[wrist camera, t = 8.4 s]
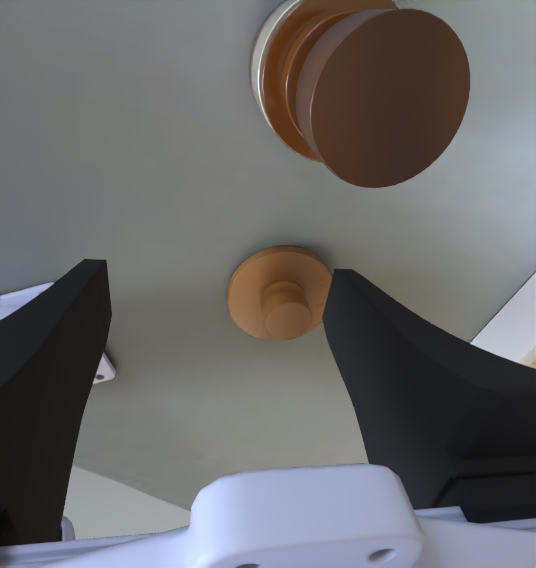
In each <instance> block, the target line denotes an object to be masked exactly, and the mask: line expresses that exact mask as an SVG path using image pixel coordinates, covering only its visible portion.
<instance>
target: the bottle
mask: <svg viewBox="0 0 536 568" xmlns="http://www.w3.org/2000/svg"><path fill="white" fill-rule="evenodd" d="M370 9H399V8H398V7H397V6H396V5H395V4H394V3H393V2H392V1H391V0H285V1H283V2H282V3H281V4H279V5H278V6H277V7H276V8H275V9H274V10H273V11H272V12H271V13H270V14H269V15H268V17H267V18H266V19H265V20H264V22H263V24H262V25H261V27H260V29H259V31H258V33H257V35H256V37H255V40H254V43H253V46H252V50H251V56H250V65H249V73H250V83H251V88H252V92H253V95H254V98H255V100H256V102H257V105H258V106H259V109H260V110H261V112H262V114H263V116H264V117H265V119H266V120H267V122H268V124H269V125H270V127H271V128H272V129H273V131H274V132H275V133H276V135H277V136H278V137H279V138H280V139H281V141H282V142H283V143H284V144H285V145H286V146H287V147H288V148H290V149H291V150H292V151H294V152H295V153H297V154H299V155H300V156H302V157H304V158H307V159H310V160H313V161H317V162H322V161H321V160H320V158H319V157H318V156H317V155H316V154H315V152H314V151H313V150H312V149H311V148H310V146H309V145H308V143H307V142H306V140H305V138H304V137H303V135H302V132H301V130H300V127H299V124H298V120H297V115H296V89H297V83H298V79H299V75H300V72H301V69H302V67H303V64H304V62H305V60H306V58H307V56H308V54H309V52H310V51H311V49H312V48H313V46H314V45H315V43H316V42H317V41H318V40H319V39H320V37H321V36H322V35H323V34H324V33H325V32H326V31H327V30H328V29H329V28H330V27H332V26H333V25H334V24H336V23H337V22H339V21H340V20H342V19H344V18H345V17H347V16H349V15H351V14H354V13H357V12H360V11H365V10H370Z"/></svg>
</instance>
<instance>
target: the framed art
mask: <svg viewBox="0 0 536 568" xmlns="http://www.w3.org/2000/svg"><path fill="white" fill-rule="evenodd" d="M470 344H472V345H474V346H477V347H479V348H481V349H483V350H486V351H488V352H491V353H493V354H496V355H498V356H501V357H503V358H506V359H509V360H512V361H514V362H517V363H520V364H523V365H526V366H529V367H532V368H535V369H536V272H535V274H534V275H533V276H532V277H531V278H530V279H529V280H528V281H527V282H526V283H525V284H524V285H523V287H522V288H521V289H520V290H519V291H518V292H517V293H516V294H515V295H514V296H513V297H512V298H511V299H510V301H509V302H508V303H507V304H506V305H505V306H504V307H503V308H502V309H501V310H500V311H499V312H498V313H497V315H496V316H495V317H494V318H493V319H492V320H491V321H490V322H489V323H488V324H487V325H486V326H485V328H484V329H483V330H482V331H481V332H480V333H479V334H478V335H477V336H476V337H475V338H474V339H473V340H472V342H471V343H470Z"/></svg>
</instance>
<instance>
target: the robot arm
mask: <svg viewBox="0 0 536 568" xmlns="http://www.w3.org/2000/svg"><path fill="white" fill-rule="evenodd" d="M41 292H42V293H41ZM111 316H112V311H111V301H110V292H109V282H108V272H107V262H106V260H94V259H84V260H83V261H81V262H80V263H79V264H78V265H76V266H75V267H74V268H73V269H71V270H70V271H69V272H68V273H67V274H65V275H64V276H63V277H62V278H60V279H59V280H58V281H56V282H55V283H53V282H51V283H46V284H42V285H39V286H35V287H31V288H27V289H24V290H20V291H16V292H12V293H9V294H5V295H1V296H0V568H536V369H535V368H532V367H529V366H526V365H523V364H520V363H517V362H514V361H512V360H509V359H506V358H503V357H501V356H498V355H496V354H493V353H491V352H488V351H486V350H483V349H481V348H479V347H477V346H474V345H472V344H470V343H468V342H466V341H463V340H461V339H459V338H457V337H455V336H453V335H451V334H449V333H448V332H446V331H444V330H442V329H440V328H438V327H437V326H435V325H433V324H431V323H430V322H428V321H426V320H425V319H423V318H421V317H420V316H418V315H417V314H415V313H414V312H412V311H411V310H409V309H407V308H406V307H405V306H403V305H402V304H400V303H399V302H397V301H396V300H394V299H393V298H392V297H390V296H389V295H388V294H386V293H385V292H383V291H382V290H381V289H379V288H378V287H377V286H375V285H374V284H373V283H371V282H370V281H369V280H367V279H366V278H364V277H363V276H362V275H360V274H359V273H357V272H355V271H354V270H352V269H335V270H334V273H333V277H332V281H331V285H330V289H329V293H328V296H327V300H326V304H325V308H324V312H323V316H322V319H323V324H324V328H325V332H326V336H327V340H328V343H329V346H330V349H331V351H332V354H333V356H334V359H335V361H336V363H337V366H338V368H339V371H340V373H341V376H342V378H343V380H344V383H345V385H346V388H347V390H348V393H349V395H350V398H351V401H352V403H353V406H354V409H355V413H356V416H357V420H358V423H359V427H360V430H361V434H362V438H363V442H364V445H365V449H366V453H367V457H368V461H369V464H364V463H359V464H343V465H326V466H310V467H294V468H278V469H262V470H248V471H244V472H239V473H234V474H229V475H225V476H222V477H221V478H219V479H217V480H216V481H214V482H212V483H211V484H209V485H207V486H205V487H204V488H203V489H202V490H201V491H200V492H199V493H198V495H197V497H196V499H195V501H194V503H193V504H192V506H191V522H190V525H188V526H184V527H181V528H177V529H173V530H170V531H166V532H161V533H150V534H139V535H127V536H116V537H105V538H93V539H82V540H75V534H74V528H73V525H72V523H71V521H70V520H69V519H68V518H67V517H65V516H63V510H64V505H65V500H66V494H67V488H68V483H69V478H70V473H71V468H72V463H73V458H74V453H75V448H76V443H77V439H78V434H79V429H80V425H81V420H82V416H83V412H84V409H85V405H86V402H87V399H88V396H89V393H90V390H91V387H92V385H93V384H95V383H99V382H103V381H107V380H110V379H113V378H114V377H115V373H116V371H115V368H114V367H113V365H112V364H111V362H110V361H109V359H108V358H107V356H106V355H105V353H104V349H105V346H106V343H107V338H108V333H109V327H110V322H111ZM98 374H101V375H98Z"/></svg>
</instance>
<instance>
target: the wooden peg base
mask: <svg viewBox="0 0 536 568" xmlns="http://www.w3.org/2000/svg"><path fill="white" fill-rule="evenodd" d="M331 281H332V275H331V273H330V271H329V269H328V267H327V266H326V264H325V263H324V262H323V260H322V259H321V258H319V257H318V256H317V255H316V254H314V253H312V252H311V251H308V250H306V249H303V248H299V247H294V246H276V247H271V248H267V249H264V250H262V251H259V252H257V253H255V254H253V255H252V256H250V257H249V258H247V259H246V260H245V261H243V262H242V263H241V264H240V265H239V266H238V268H237V269H236V270H235V272H234V273H233V275H232V277H231V279H230V281H229V284H228V288H227V302H228V309H229V313H230V315H231V317H232V319H233V321H234V322H235V323H236V325H237V326H238V327H239V328H240V329H242V330H243V331H244V332H246V333H247V334H249V335H251V336H254V337H257V338H260V339H265V340H290V339H294V338H297V337H299V336H301V335H303V334H304V333H306V332H308V331H310V330H311V329H313V328H314V327H316V326H317V325H318V324H319V323H320V322H321V321H322V320H323V319H322V316H323V312H324V308H325V304H326V300H327V296H328V293H329V289H330V285H331Z"/></svg>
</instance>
